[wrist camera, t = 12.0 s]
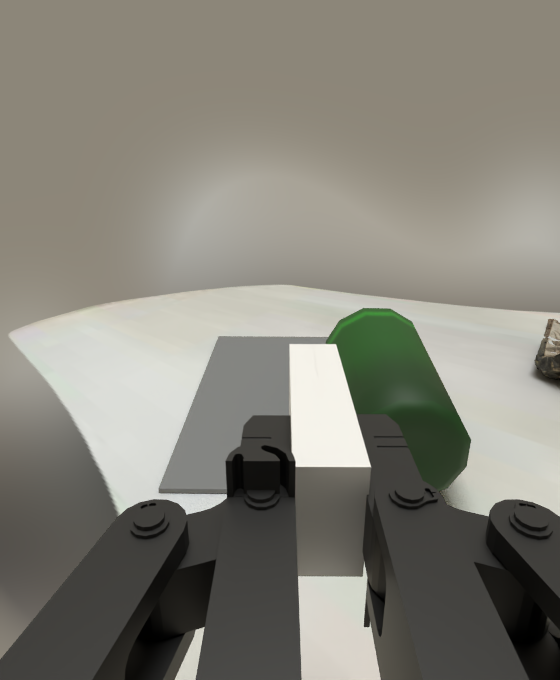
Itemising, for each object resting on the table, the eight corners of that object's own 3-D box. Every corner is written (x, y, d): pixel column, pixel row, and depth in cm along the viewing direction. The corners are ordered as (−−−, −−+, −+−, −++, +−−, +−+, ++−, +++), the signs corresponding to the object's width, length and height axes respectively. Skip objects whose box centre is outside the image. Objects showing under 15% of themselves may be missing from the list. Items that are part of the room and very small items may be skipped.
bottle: (520, 458, 33) (422, 327, 59) (423, 357, 30) (366, 267, 57) (401, 539, 36) (358, 380, 62) (304, 453, 33) (302, 325, 60)
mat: (434, 495, 37) (435, 491, 37) (159, 492, 38) (158, 488, 37) (363, 339, 71) (363, 337, 71) (218, 338, 71) (218, 336, 71)
